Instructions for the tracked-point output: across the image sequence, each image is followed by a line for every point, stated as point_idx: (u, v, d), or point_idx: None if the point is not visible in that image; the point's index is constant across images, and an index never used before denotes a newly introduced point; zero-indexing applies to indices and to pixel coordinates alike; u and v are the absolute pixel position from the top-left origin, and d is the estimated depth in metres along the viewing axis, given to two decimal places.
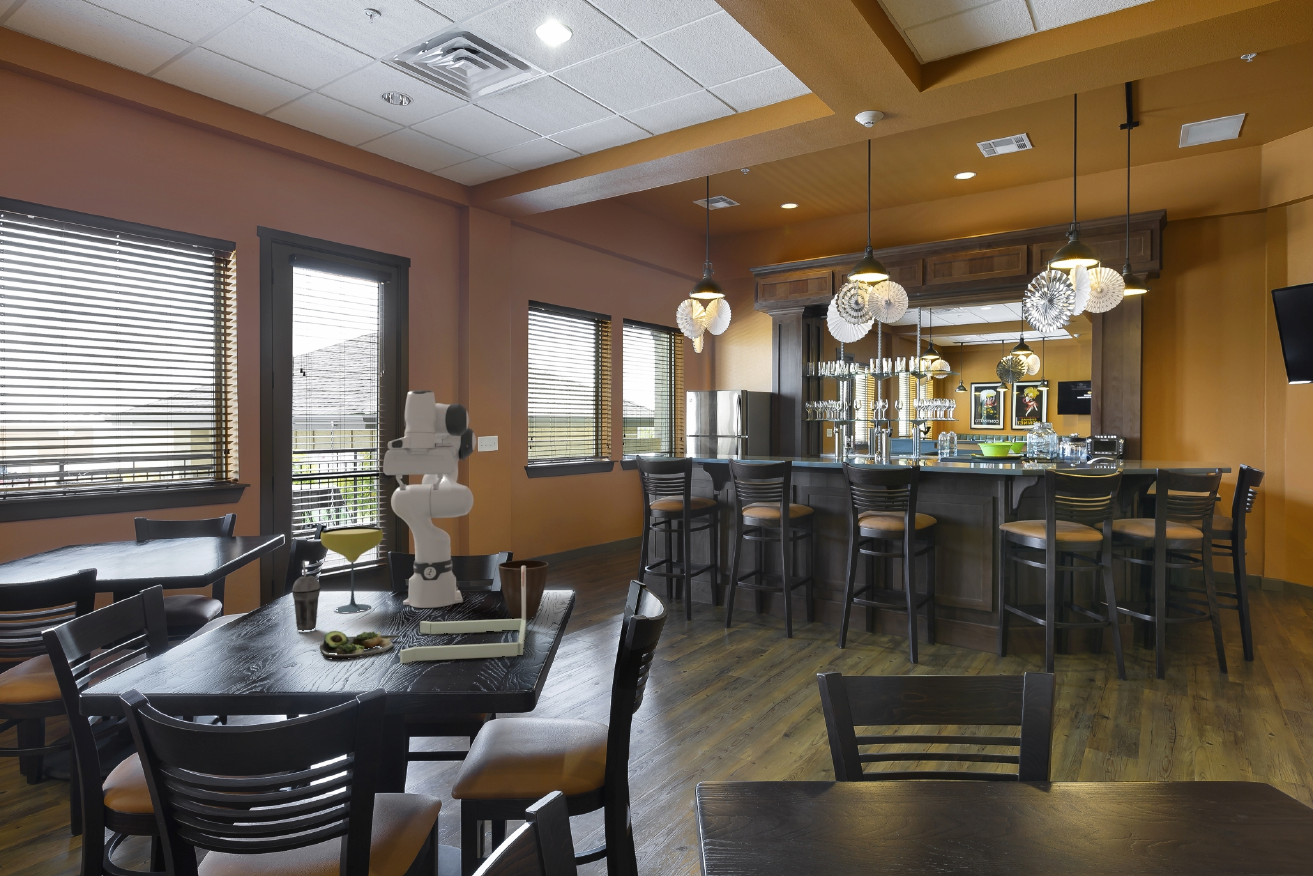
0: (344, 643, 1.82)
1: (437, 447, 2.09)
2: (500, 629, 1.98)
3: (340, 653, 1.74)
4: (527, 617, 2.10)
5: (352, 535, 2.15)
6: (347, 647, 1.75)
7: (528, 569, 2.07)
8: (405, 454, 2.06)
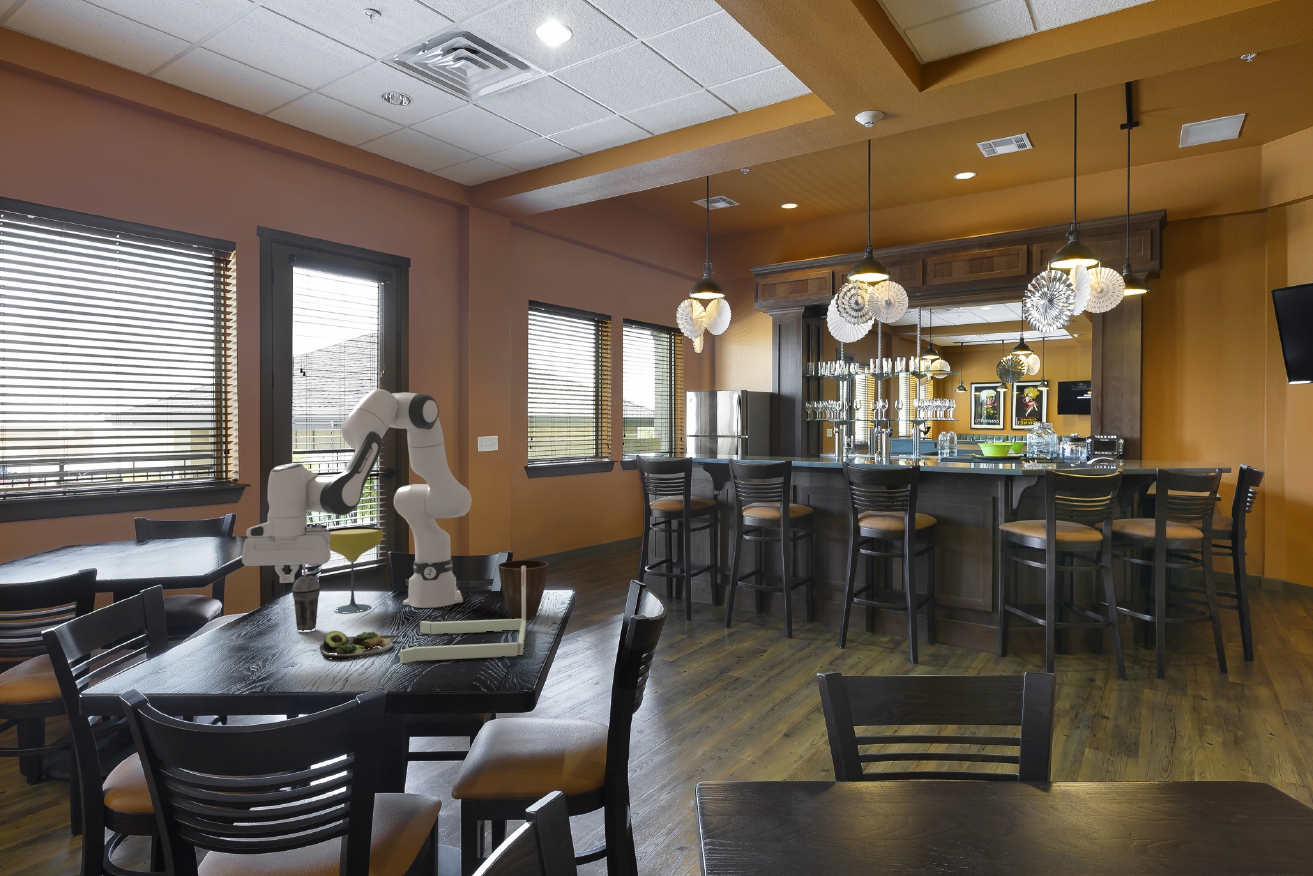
0: (344, 643, 1.82)
1: (307, 532, 1.79)
2: (500, 629, 1.98)
3: (340, 653, 1.74)
4: (527, 617, 2.10)
5: (352, 535, 2.15)
6: (347, 647, 1.75)
7: (528, 569, 2.07)
8: (268, 542, 1.76)
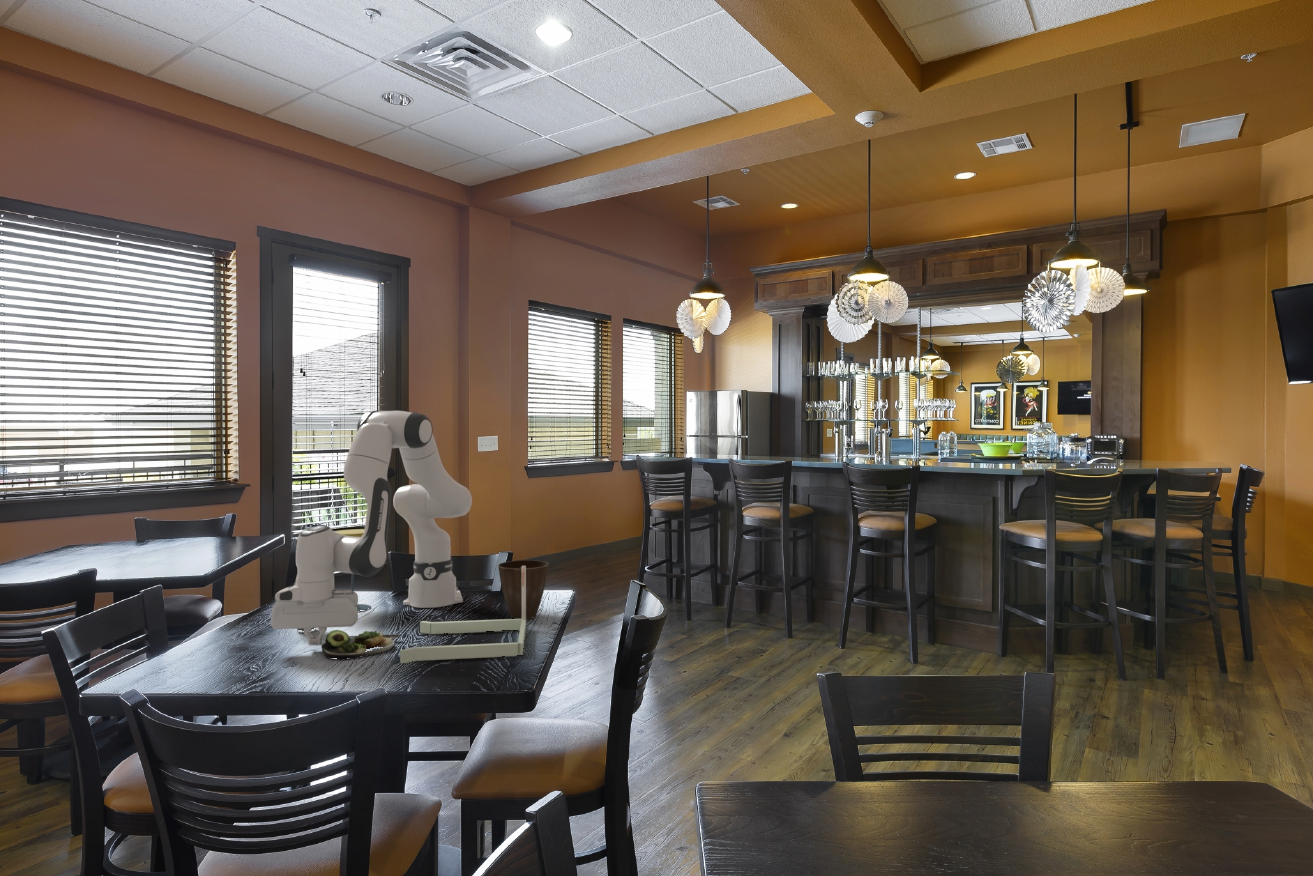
0: (346, 642, 1.82)
1: (335, 595, 1.81)
2: (500, 629, 1.98)
3: (342, 652, 1.74)
4: (527, 617, 2.10)
5: (352, 535, 2.15)
6: (349, 646, 1.75)
7: (528, 569, 2.07)
8: (297, 606, 1.78)
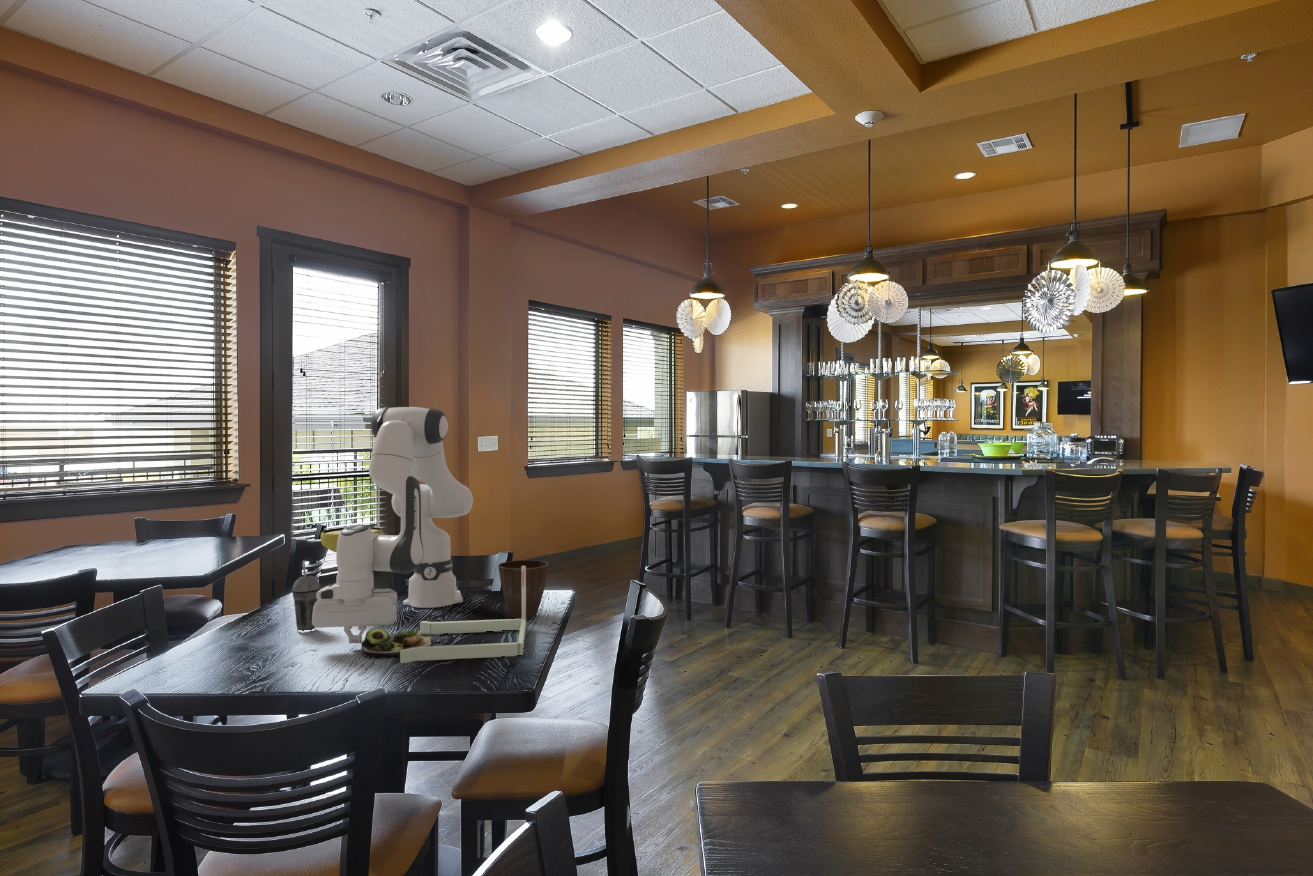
0: (385, 640, 1.83)
1: (375, 593, 1.82)
2: (500, 629, 1.98)
3: (378, 650, 1.75)
4: (527, 617, 2.10)
5: None
6: (385, 645, 1.76)
7: (528, 569, 2.07)
8: (337, 604, 1.79)
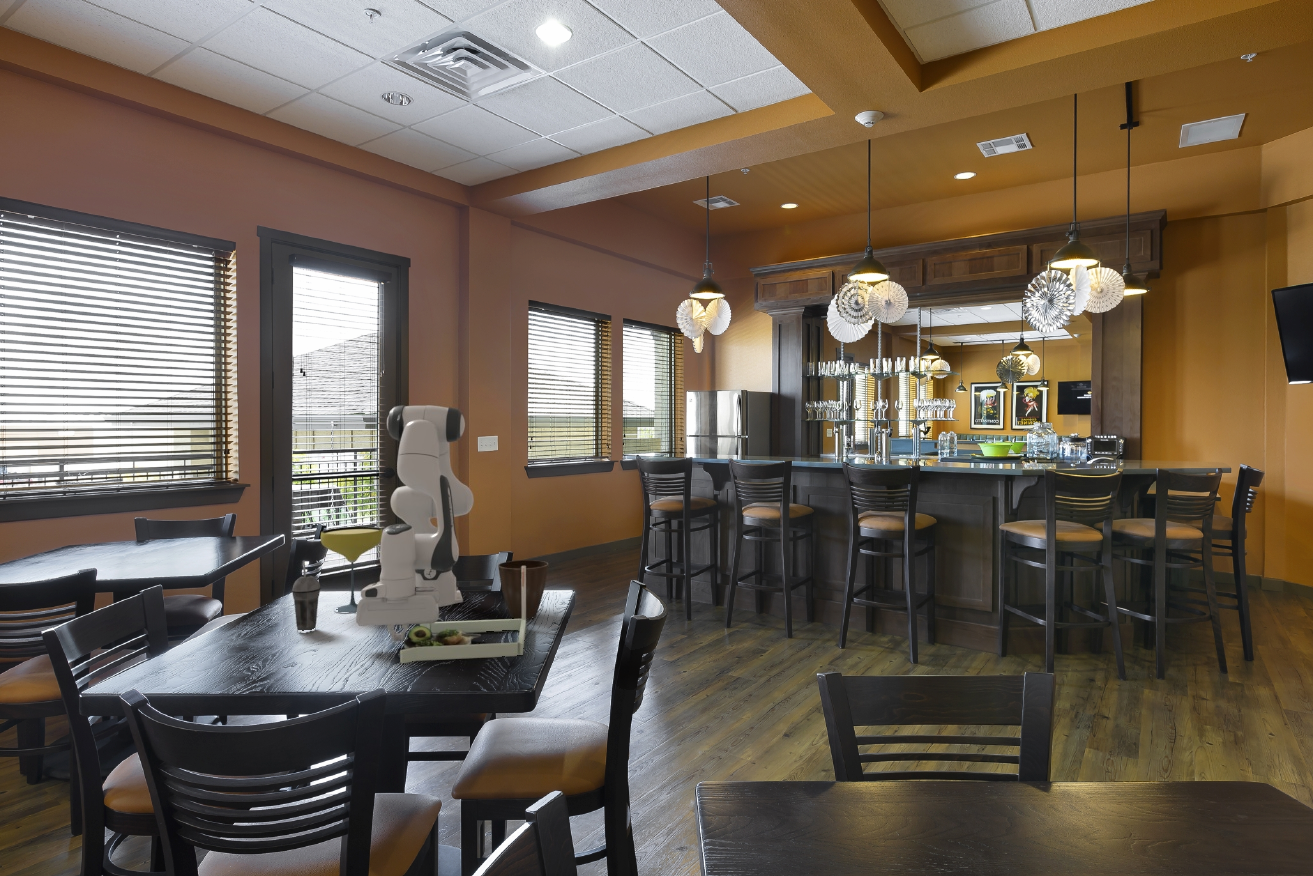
0: (427, 639, 1.84)
1: (417, 592, 1.83)
2: (500, 629, 1.98)
3: None
4: (527, 617, 2.10)
5: (352, 535, 2.15)
6: (425, 643, 1.77)
7: (528, 569, 2.07)
8: (381, 602, 1.81)
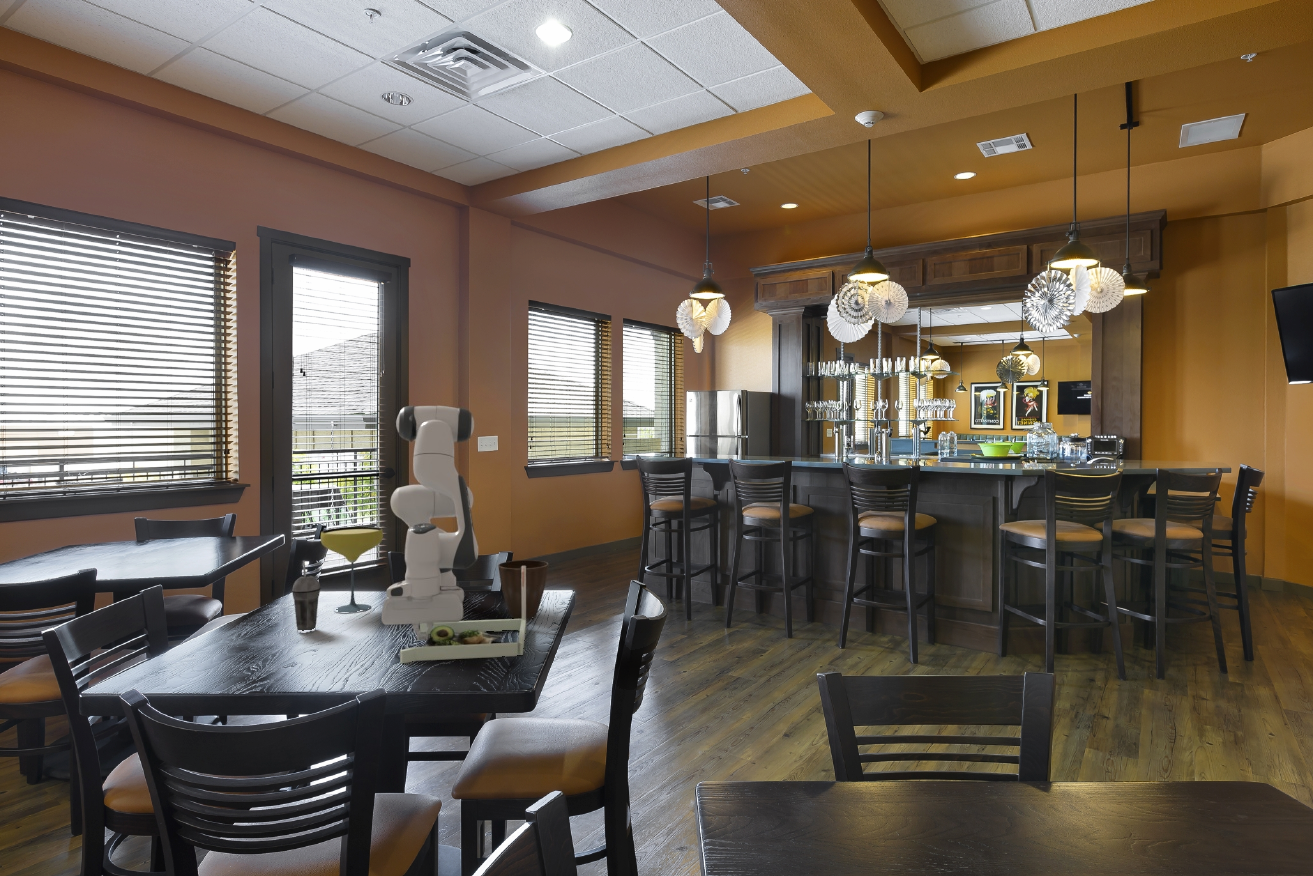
0: (449, 638, 1.85)
1: (442, 591, 1.84)
2: (500, 629, 1.98)
3: None
4: (527, 617, 2.10)
5: (352, 535, 2.15)
6: (444, 643, 1.78)
7: (528, 569, 2.07)
8: (406, 601, 1.81)
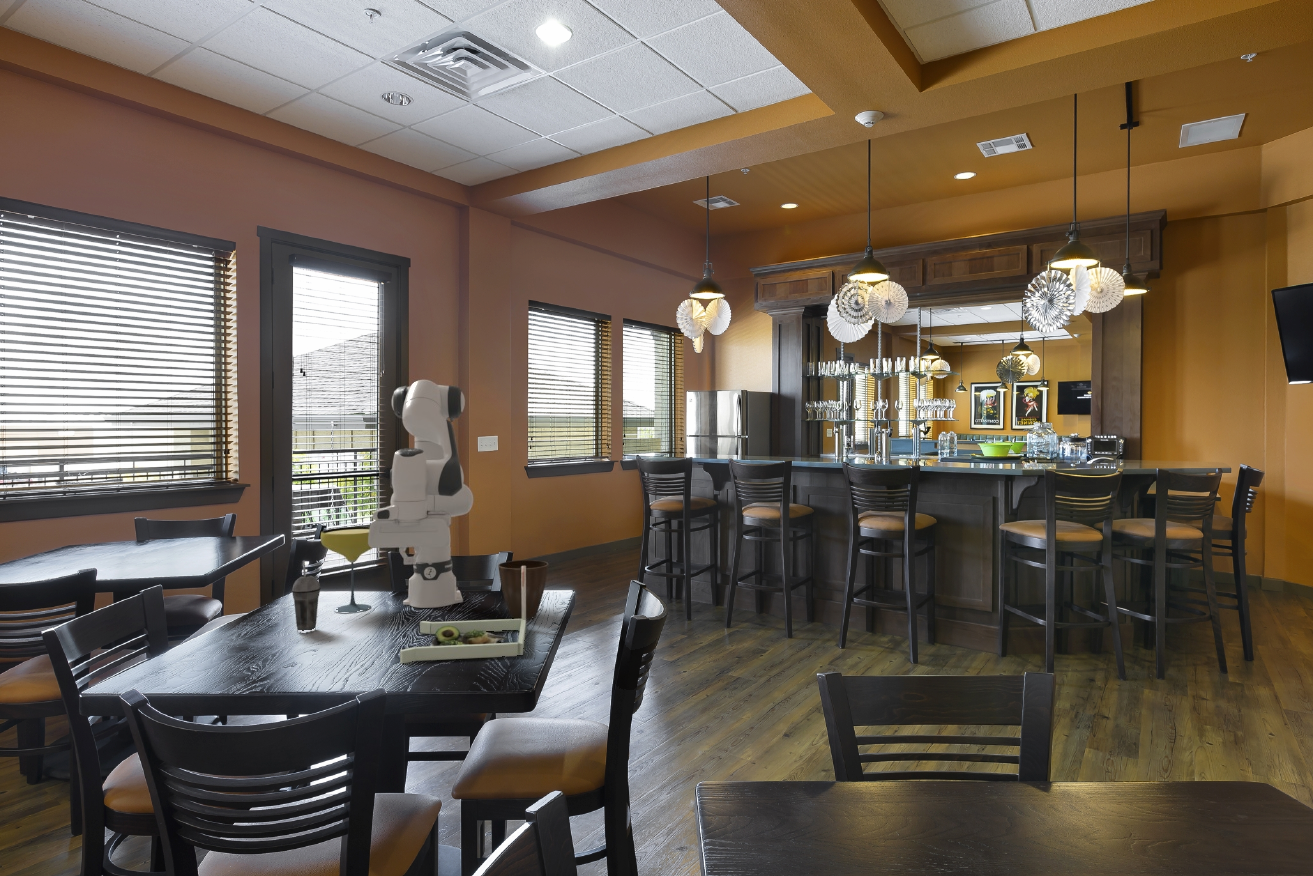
0: (454, 639, 1.85)
1: (429, 515, 1.84)
2: (500, 629, 1.98)
3: None
4: (527, 617, 2.10)
5: (352, 535, 2.15)
6: (448, 644, 1.78)
7: (528, 569, 2.07)
8: (393, 525, 1.81)
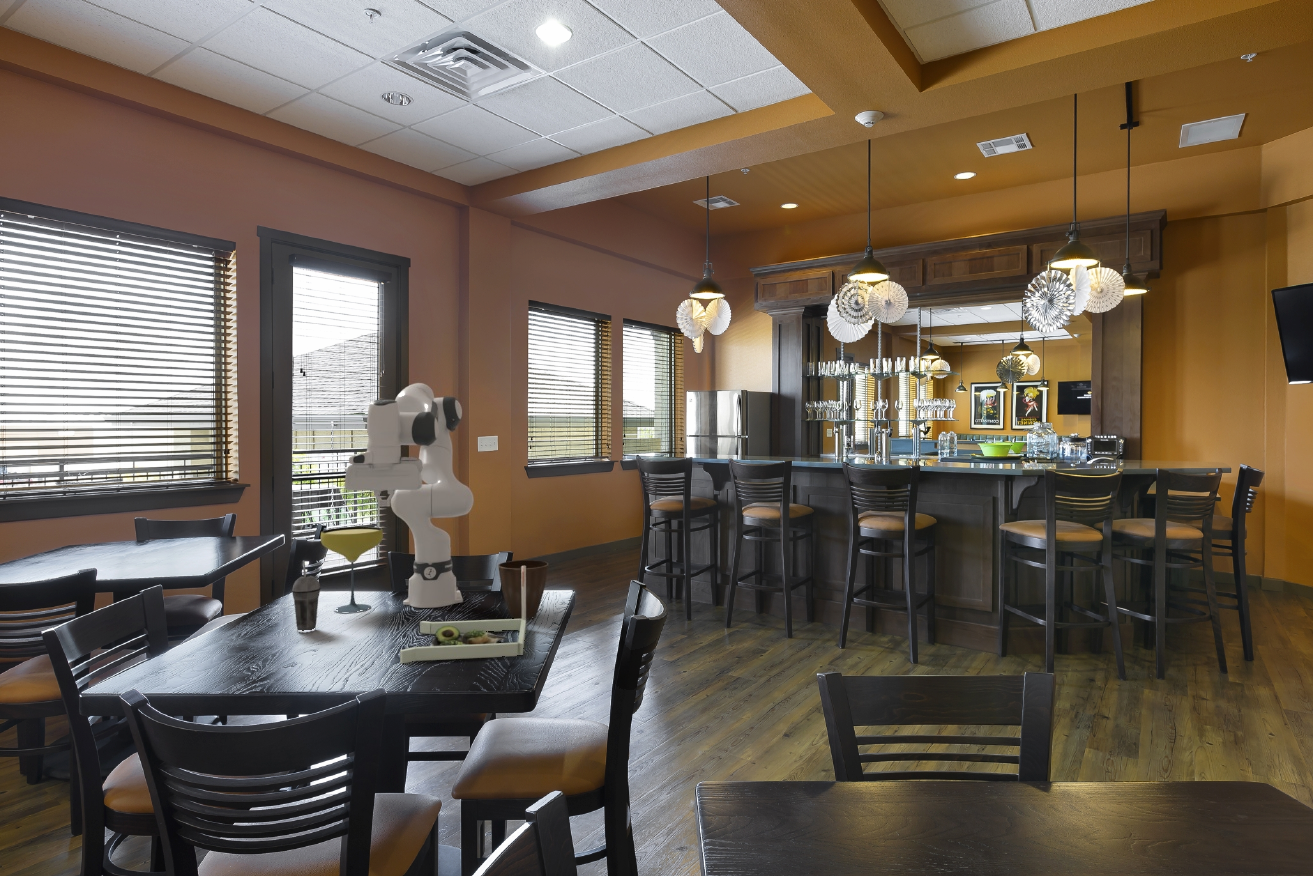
0: (454, 639, 1.85)
1: (402, 461, 1.98)
2: (500, 629, 1.98)
3: None
4: (527, 617, 2.10)
5: (352, 535, 2.15)
6: (448, 643, 1.78)
7: (528, 569, 2.07)
8: (368, 469, 1.95)
